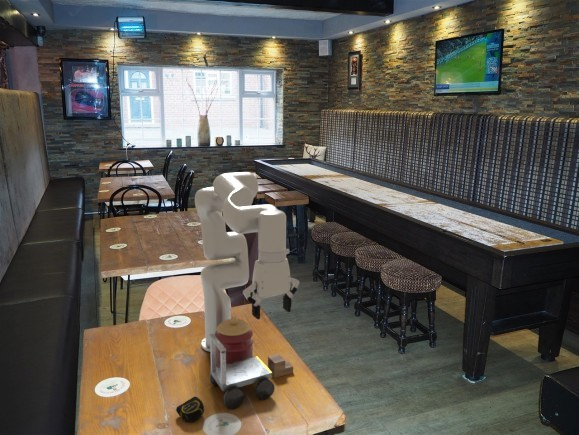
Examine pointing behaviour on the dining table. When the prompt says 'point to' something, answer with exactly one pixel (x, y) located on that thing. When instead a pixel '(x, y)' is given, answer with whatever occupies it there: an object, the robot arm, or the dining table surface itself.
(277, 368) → the block
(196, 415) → the tape measure
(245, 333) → the canister
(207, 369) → the dining table surface
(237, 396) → the trolley
